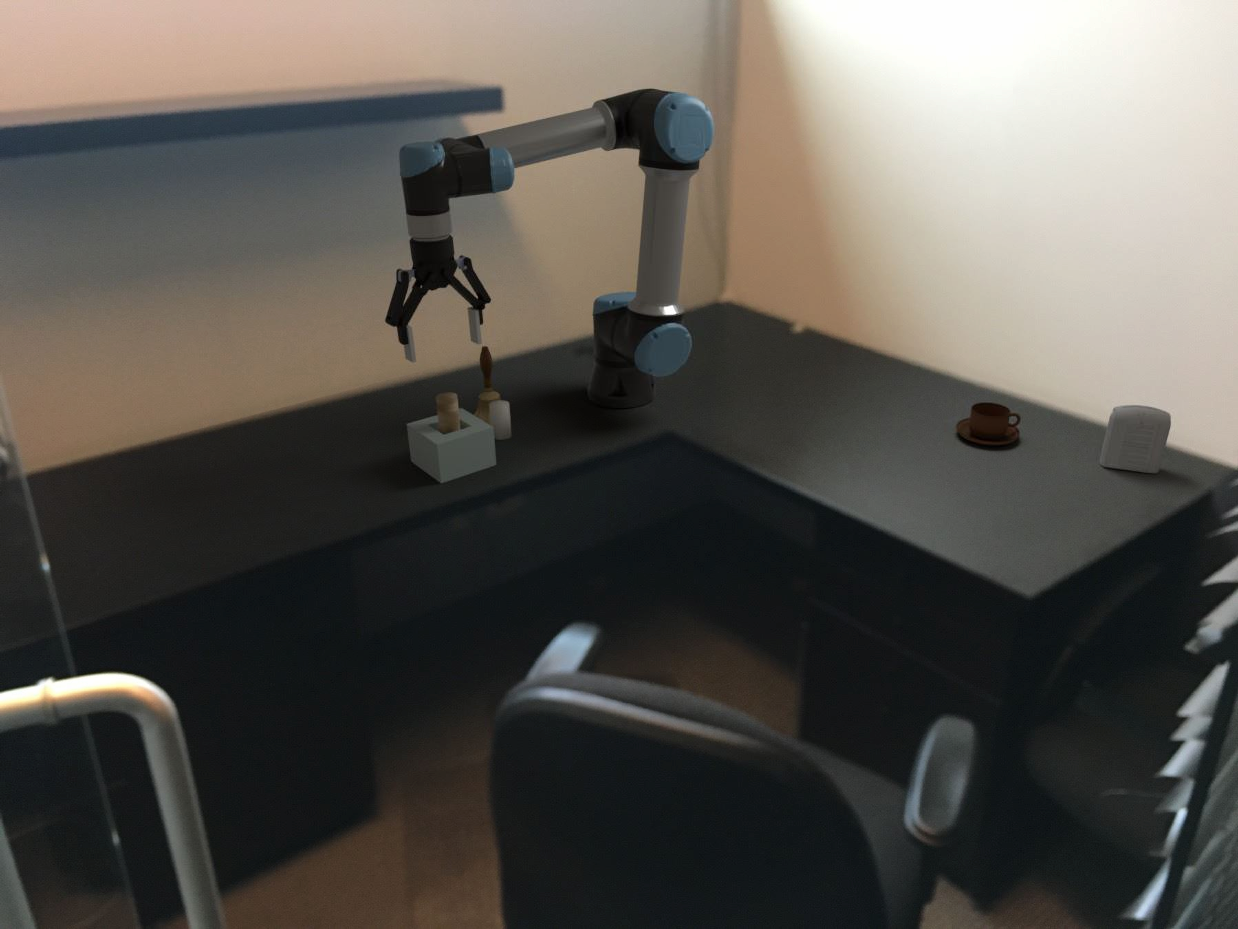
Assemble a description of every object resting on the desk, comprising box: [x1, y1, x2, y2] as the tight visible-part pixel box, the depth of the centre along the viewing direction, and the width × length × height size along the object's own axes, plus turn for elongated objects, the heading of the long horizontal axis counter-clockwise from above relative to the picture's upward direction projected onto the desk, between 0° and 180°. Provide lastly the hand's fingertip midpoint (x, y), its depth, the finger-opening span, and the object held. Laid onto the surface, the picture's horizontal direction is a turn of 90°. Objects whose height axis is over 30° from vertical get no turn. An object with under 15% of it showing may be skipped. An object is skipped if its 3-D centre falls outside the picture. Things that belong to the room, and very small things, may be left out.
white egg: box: [489, 399, 512, 441], centre depth 203 cm, size 4×4×7 cm
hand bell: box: [473, 345, 512, 425], centre depth 209 cm, size 8×8×16 cm
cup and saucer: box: [955, 401, 1022, 446], centre depth 198 cm, size 12×12×6 cm
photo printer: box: [1098, 404, 1172, 474], centre depth 184 cm, size 10×4×12 cm, turn 70°
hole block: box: [406, 407, 497, 484], centre depth 191 cm, size 12×12×8 cm
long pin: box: [435, 391, 461, 435], centre depth 190 cm, size 4×4×14 cm
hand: (444, 351), depth 183 cm, fingers open, 13 cm apart
